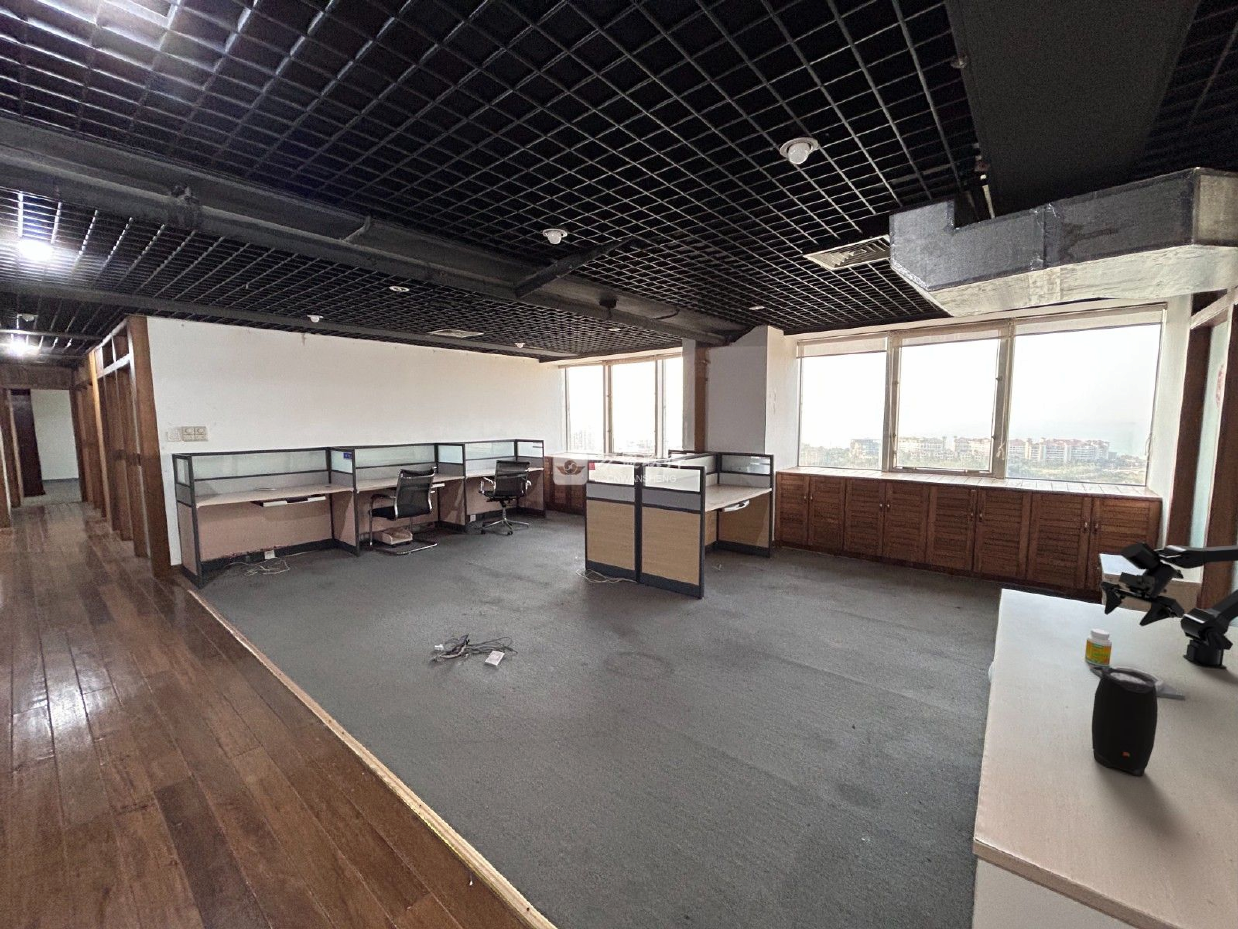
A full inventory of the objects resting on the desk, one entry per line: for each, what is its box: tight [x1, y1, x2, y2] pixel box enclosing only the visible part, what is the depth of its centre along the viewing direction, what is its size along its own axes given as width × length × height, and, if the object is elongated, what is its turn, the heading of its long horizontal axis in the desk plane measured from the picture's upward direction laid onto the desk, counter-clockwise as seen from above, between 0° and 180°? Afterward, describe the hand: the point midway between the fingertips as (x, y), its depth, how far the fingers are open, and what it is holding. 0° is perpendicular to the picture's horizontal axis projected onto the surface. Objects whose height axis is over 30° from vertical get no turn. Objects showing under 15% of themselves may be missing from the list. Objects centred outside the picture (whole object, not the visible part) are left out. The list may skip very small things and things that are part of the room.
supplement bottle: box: [1084, 628, 1113, 667], centre depth 150 cm, size 5×5×10 cm
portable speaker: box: [1091, 666, 1159, 777], centre depth 104 cm, size 9×9×20 cm
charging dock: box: [1089, 665, 1186, 700], centre depth 138 cm, size 14×12×2 cm
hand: (1122, 619), depth 151 cm, fingers open, 9 cm apart
